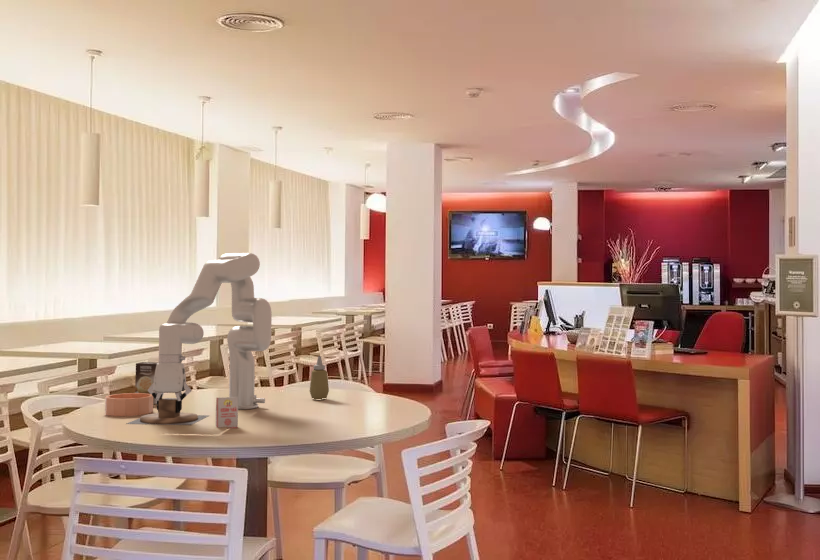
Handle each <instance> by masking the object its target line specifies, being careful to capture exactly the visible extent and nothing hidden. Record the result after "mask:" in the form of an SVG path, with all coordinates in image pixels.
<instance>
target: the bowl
mask: <svg viewBox="0 0 820 560" xmlns="http://www.w3.org/2000/svg"><path fill="white" fill-rule="evenodd" d="M104 398H105V399H104V401H105V405H104V413H105V416H106V417H108V416H111V417H112V416H113V417H114V416H115V417H131V416H144V415H148V414H153V413H154V404H153V396H152V394H146V393H135V392H129V393H127V392H126V393H115V394H110V395H106V396H105V397H104Z"/></svg>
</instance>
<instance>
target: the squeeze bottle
mask: <svg viewBox="0 0 820 560" xmlns="http://www.w3.org/2000/svg"><path fill="white" fill-rule="evenodd" d="M310 373H311V376H310V384H309V393H310V396H311V399H312V398H314V399H322V398H326V399H327V398H328V395H329V391H330V389H329V377H328V376H329V375H328V371H327V370H326V365H325V364H323V360H322V356H317V360H316V364H314V365H313V370H312V371H311V372H310Z"/></svg>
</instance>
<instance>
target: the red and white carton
mask: <svg viewBox="0 0 820 560" xmlns="http://www.w3.org/2000/svg"><path fill="white" fill-rule="evenodd" d="M215 399H216V402H215V427H216V428H226V427H227V428H226V429H239V425H238V424H239V420H238V419H239V409H238V397H229V396H227V397H226V396H225V397H224V396H222V397H216V398H215Z"/></svg>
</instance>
